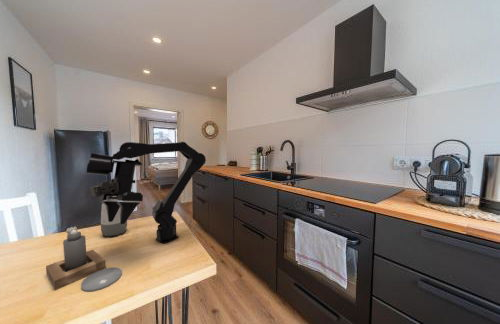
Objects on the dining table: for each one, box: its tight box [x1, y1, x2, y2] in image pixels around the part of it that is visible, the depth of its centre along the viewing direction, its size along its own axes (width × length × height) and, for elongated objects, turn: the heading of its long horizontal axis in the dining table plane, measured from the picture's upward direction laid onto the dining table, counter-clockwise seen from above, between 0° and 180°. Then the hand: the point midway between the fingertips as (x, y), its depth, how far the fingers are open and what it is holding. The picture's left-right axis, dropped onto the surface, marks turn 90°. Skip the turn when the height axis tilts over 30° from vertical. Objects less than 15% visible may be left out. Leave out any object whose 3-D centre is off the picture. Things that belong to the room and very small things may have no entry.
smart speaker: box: [100, 203, 128, 237], centre depth 81 cm, size 10×9×14 cm
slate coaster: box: [80, 266, 123, 293], centre depth 52 cm, size 9×9×1 cm
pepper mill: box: [62, 230, 88, 273], centre depth 56 cm, size 5×5×13 cm
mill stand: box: [45, 249, 107, 291], centre depth 56 cm, size 11×11×2 cm
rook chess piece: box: [65, 226, 78, 235], centre depth 69 cm, size 4×4×8 cm
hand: (116, 222), depth 62 cm, fingers open, 9 cm apart
